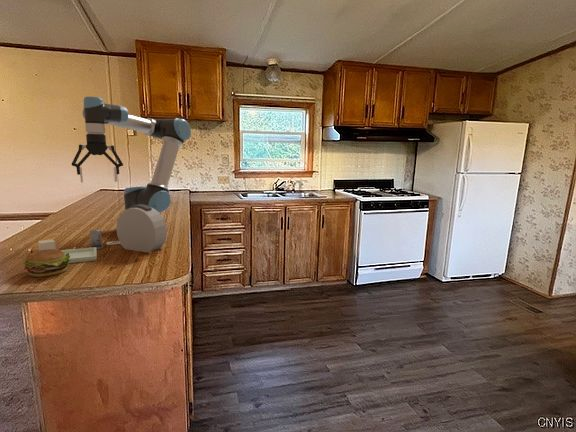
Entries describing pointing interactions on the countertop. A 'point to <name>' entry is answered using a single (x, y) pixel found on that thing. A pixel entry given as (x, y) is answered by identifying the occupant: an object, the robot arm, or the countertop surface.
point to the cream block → (47, 244)
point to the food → (47, 263)
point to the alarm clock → (141, 229)
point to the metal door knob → (96, 239)
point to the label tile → (113, 243)
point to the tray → (81, 254)
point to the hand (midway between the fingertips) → (99, 182)
